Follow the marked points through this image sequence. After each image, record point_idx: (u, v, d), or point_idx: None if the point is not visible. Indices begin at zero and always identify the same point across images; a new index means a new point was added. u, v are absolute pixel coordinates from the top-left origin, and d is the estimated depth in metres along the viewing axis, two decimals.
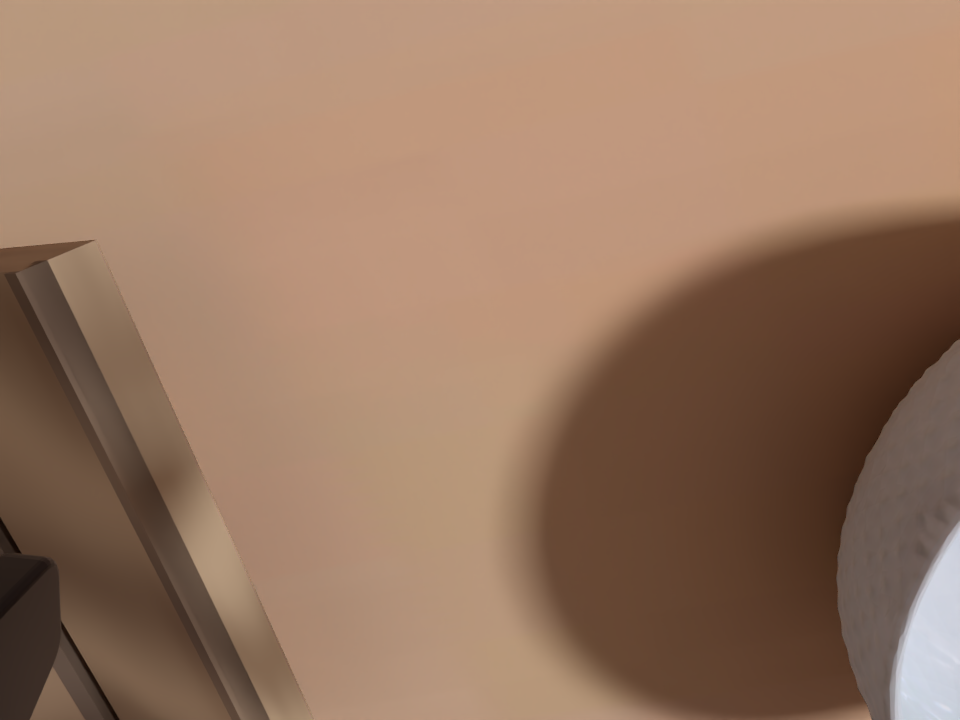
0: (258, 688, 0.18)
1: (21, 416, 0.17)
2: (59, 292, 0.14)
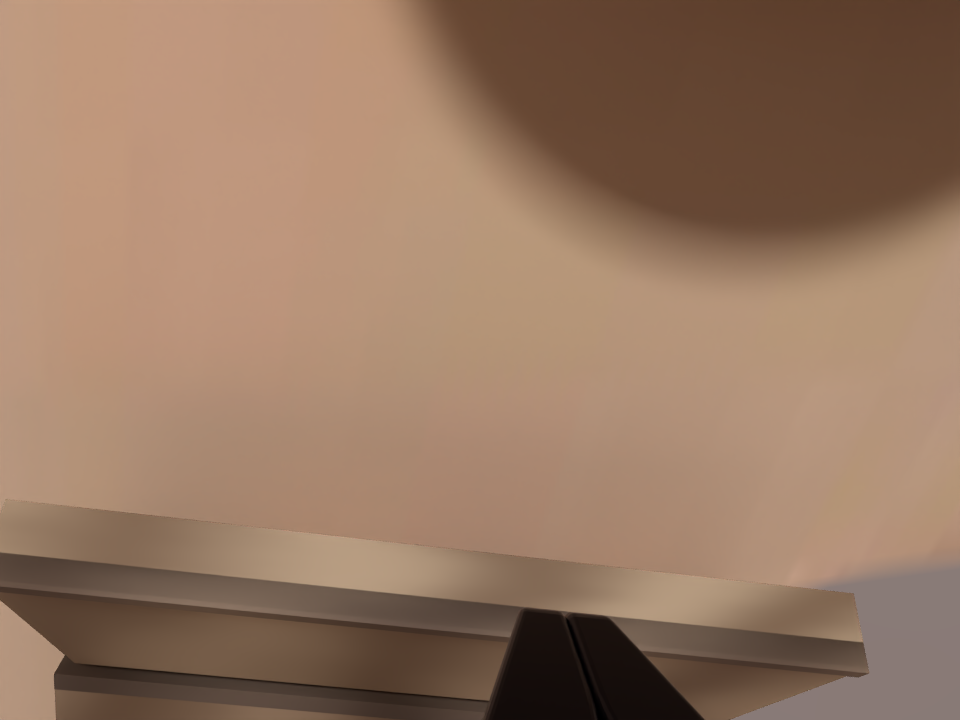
0: (550, 605, 0.16)
1: (179, 635, 0.17)
2: (23, 556, 0.15)
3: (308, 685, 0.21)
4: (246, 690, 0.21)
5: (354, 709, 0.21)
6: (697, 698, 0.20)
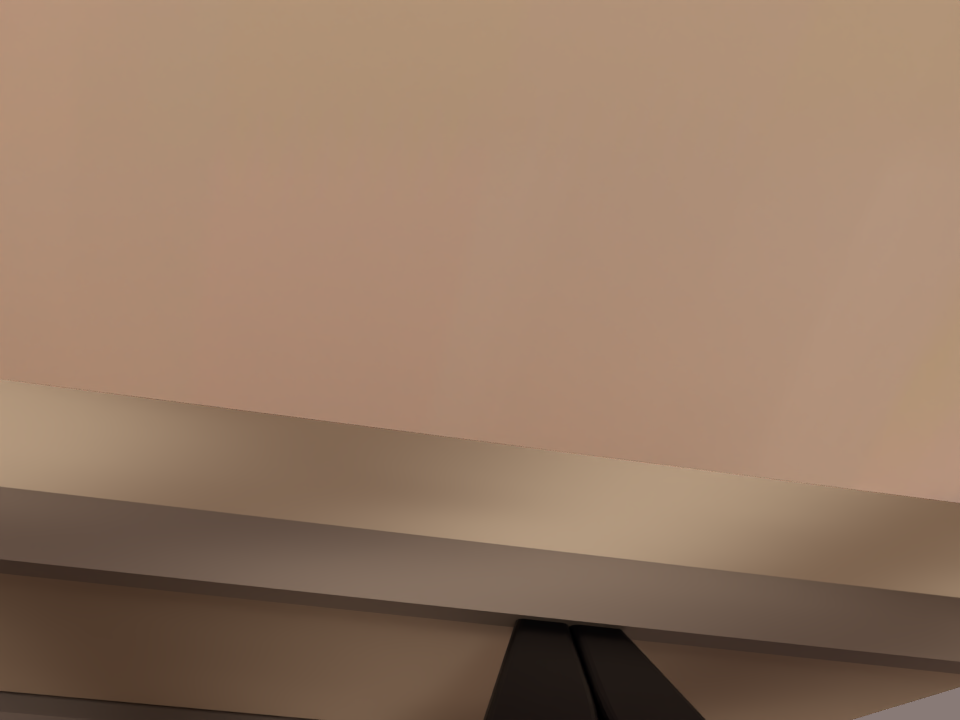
0: (348, 517, 0.07)
1: None
2: None
3: (28, 693, 0.13)
4: None
5: None
6: None
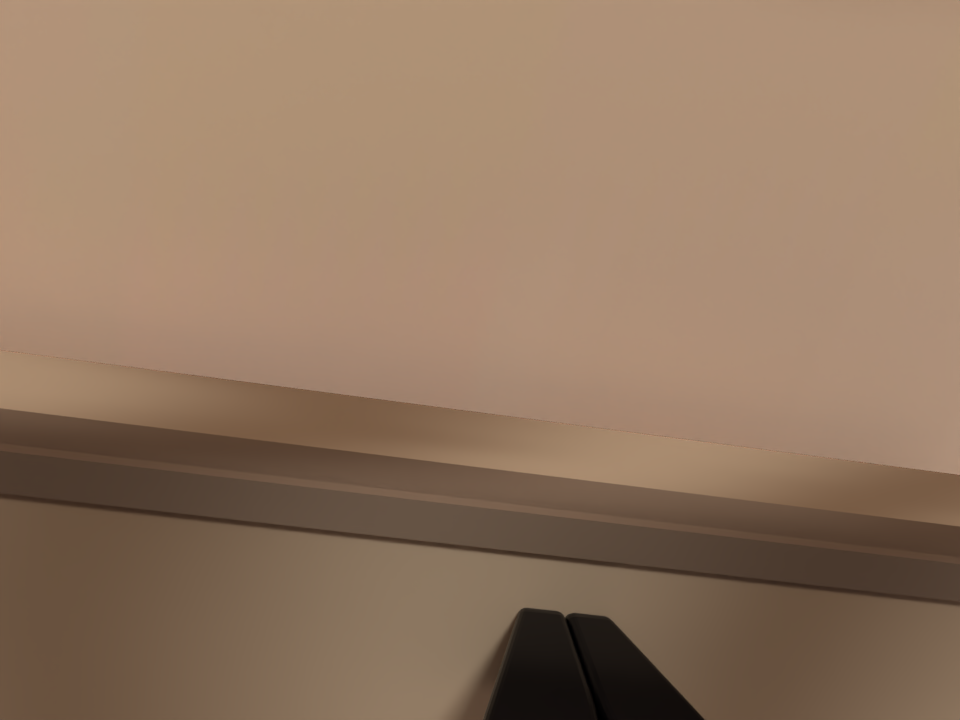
0: (365, 447, 0.07)
1: None
2: None
3: None
4: None
5: None
6: None
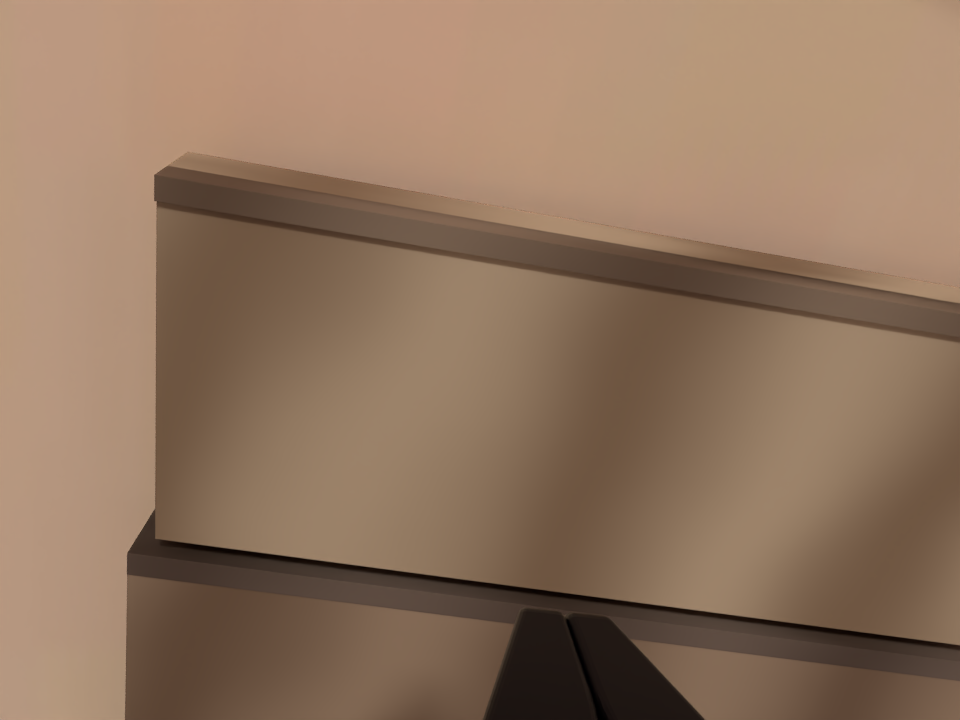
0: (802, 274, 0.14)
1: (344, 372, 0.14)
2: None
3: (454, 583, 0.16)
4: (376, 584, 0.16)
5: (515, 616, 0.16)
6: None
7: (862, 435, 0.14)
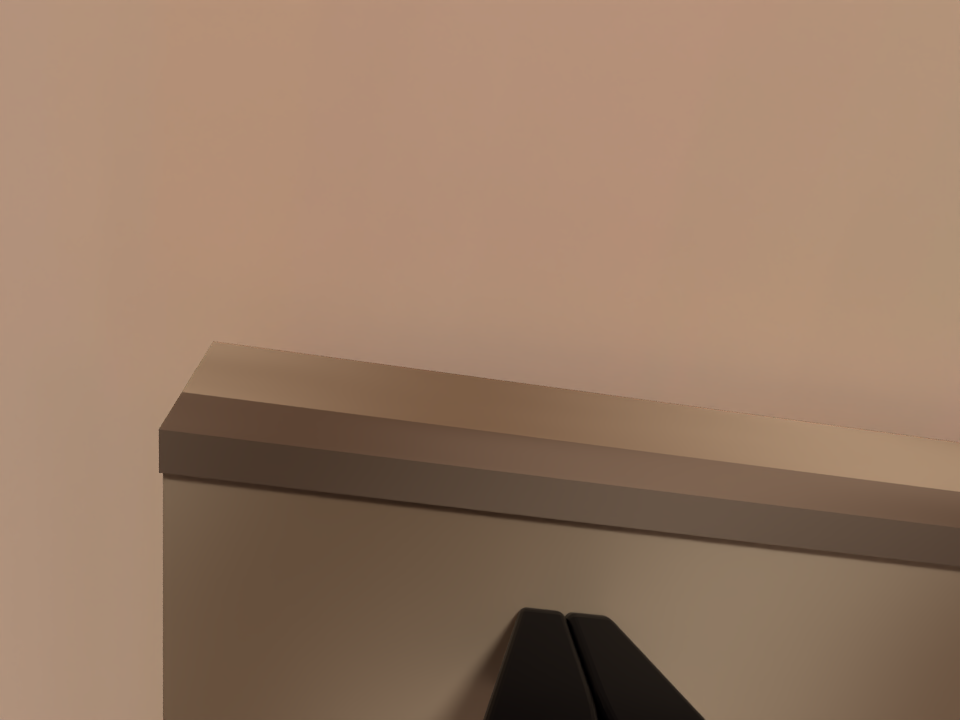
0: None
1: None
2: (257, 415, 0.07)
3: None
4: None
5: None
6: None
7: None
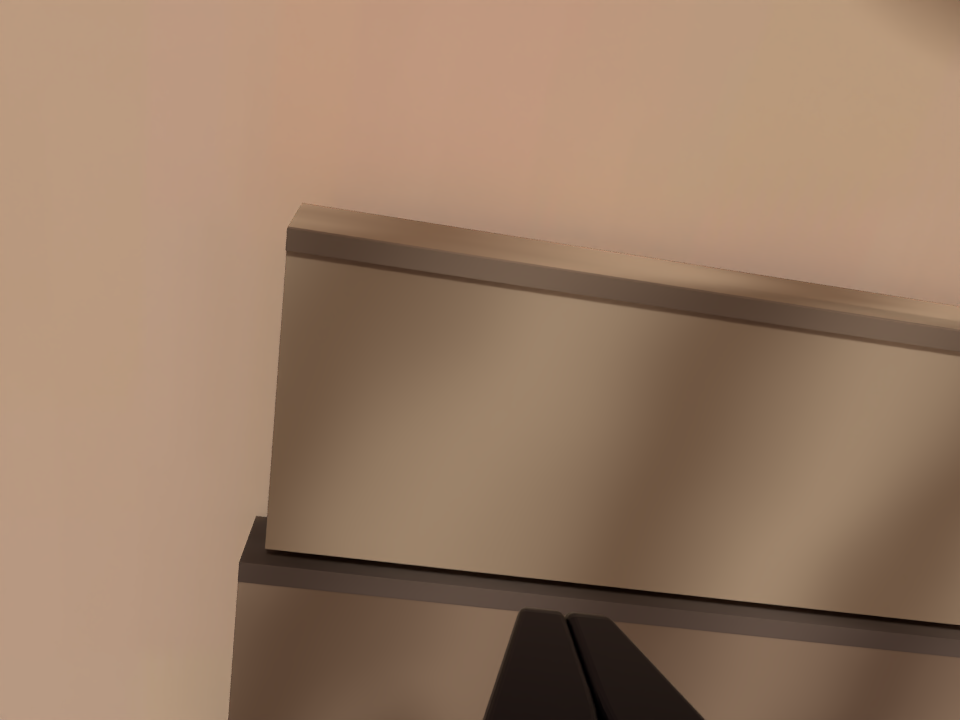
0: (845, 302, 0.15)
1: (444, 397, 0.15)
2: None
3: (530, 582, 0.18)
4: (462, 585, 0.17)
5: (586, 611, 0.18)
6: None
7: (898, 442, 0.16)
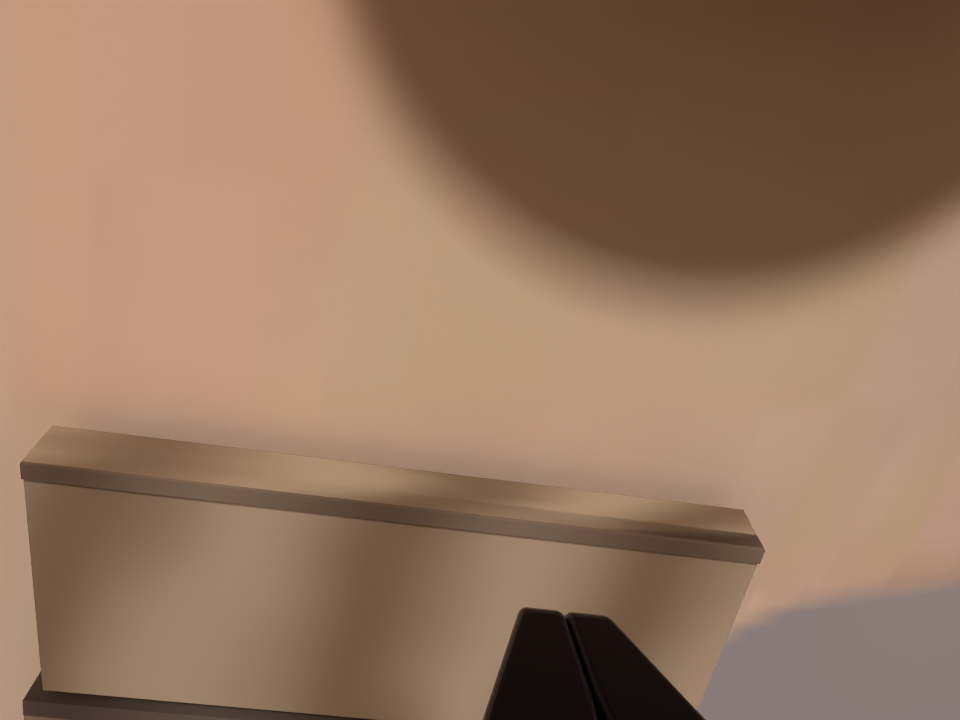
0: (494, 501, 0.19)
1: (169, 578, 0.19)
2: (62, 457, 0.18)
3: (273, 711, 0.22)
4: (212, 716, 0.21)
5: None
6: None
7: (551, 607, 0.20)
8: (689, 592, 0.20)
